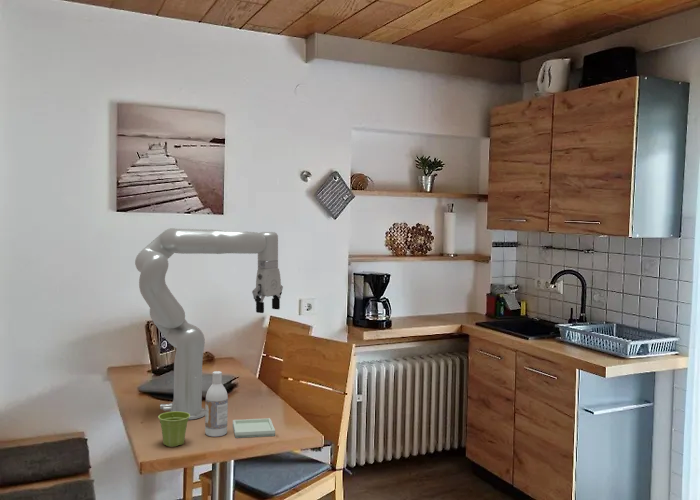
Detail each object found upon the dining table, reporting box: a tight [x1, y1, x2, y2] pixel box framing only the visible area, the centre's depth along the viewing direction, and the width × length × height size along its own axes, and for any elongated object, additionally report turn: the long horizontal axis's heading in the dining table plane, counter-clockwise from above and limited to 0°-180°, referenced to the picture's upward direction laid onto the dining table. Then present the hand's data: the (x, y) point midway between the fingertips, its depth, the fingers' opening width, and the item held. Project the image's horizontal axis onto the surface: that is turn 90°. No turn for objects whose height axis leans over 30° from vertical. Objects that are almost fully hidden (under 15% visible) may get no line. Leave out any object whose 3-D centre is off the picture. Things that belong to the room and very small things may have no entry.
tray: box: [232, 417, 276, 439], centre depth 211 cm, size 13×13×2 cm
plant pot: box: [157, 411, 190, 448], centre depth 197 cm, size 9×9×9 cm
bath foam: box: [204, 370, 229, 438], centre depth 207 cm, size 7×7×20 cm
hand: (268, 310), depth 241 cm, fingers open, 9 cm apart
